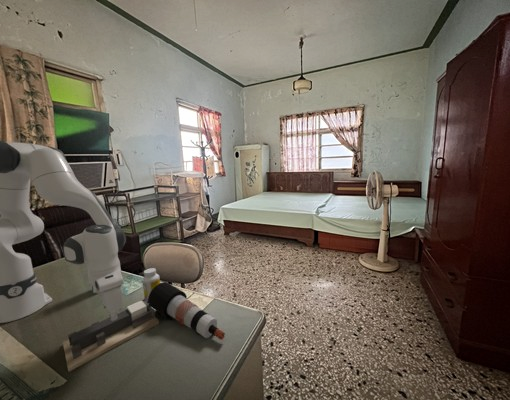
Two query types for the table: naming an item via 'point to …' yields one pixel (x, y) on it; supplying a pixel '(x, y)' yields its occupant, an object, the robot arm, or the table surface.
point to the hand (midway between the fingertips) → (110, 312)
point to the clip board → (108, 340)
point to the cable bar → (108, 326)
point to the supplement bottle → (150, 281)
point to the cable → (182, 310)
